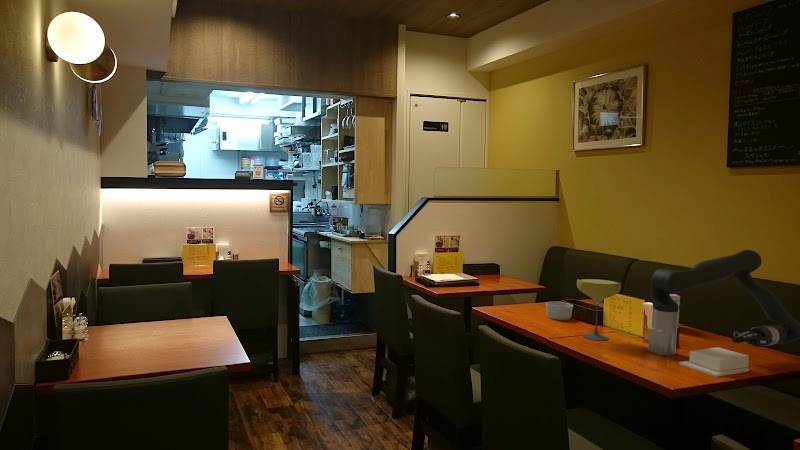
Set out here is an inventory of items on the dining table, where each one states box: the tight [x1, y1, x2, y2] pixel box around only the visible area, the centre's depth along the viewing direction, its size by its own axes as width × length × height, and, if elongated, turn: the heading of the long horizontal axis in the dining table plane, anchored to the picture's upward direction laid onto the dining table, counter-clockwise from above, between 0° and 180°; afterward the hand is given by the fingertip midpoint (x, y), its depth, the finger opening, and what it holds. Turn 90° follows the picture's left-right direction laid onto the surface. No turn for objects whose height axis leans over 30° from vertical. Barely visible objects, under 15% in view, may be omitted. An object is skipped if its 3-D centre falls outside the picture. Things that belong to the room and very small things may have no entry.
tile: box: [688, 346, 749, 372], centre depth 212 cm, size 4×12×16 cm
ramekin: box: [545, 301, 574, 321], centre depth 286 cm, size 13×13×7 cm
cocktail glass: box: [576, 276, 622, 342], centre depth 249 cm, size 18×18×25 cm
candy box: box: [670, 294, 681, 326], centre depth 273 cm, size 14×6×16 cm, turn 168°
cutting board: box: [678, 360, 750, 378], centre depth 211 cm, size 18×15×1 cm
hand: (734, 339), depth 215 cm, fingers closed
